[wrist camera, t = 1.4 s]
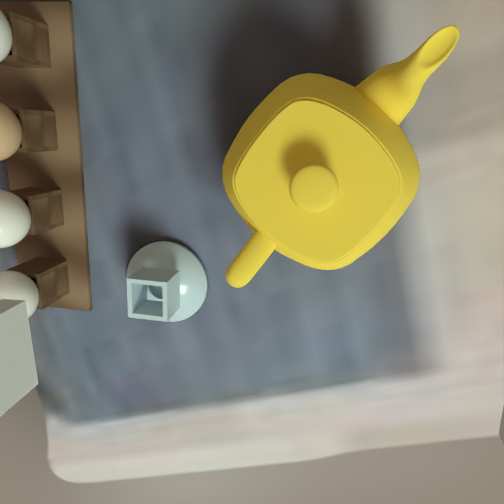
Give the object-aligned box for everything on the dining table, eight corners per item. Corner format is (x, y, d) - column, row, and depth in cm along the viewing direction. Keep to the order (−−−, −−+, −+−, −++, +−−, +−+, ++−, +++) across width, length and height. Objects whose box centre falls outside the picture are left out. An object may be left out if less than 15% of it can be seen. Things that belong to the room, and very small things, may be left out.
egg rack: (-9, 2, 38) (-55, -15, 33) (71, 2, 36) (35, -15, 32) (25, 301, 45) (-9, 320, 41) (92, 309, 44) (65, 329, 40)
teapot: (478, 117, 33) (558, 110, 22) (308, 295, 40) (297, 365, 28) (346, 2, 33) (354, -70, 21) (195, 201, 39) (136, 231, 27)
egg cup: (127, 237, 41) (101, 251, 37) (208, 244, 40) (192, 259, 35) (130, 314, 44) (106, 336, 39) (207, 323, 42) (191, 347, 38)
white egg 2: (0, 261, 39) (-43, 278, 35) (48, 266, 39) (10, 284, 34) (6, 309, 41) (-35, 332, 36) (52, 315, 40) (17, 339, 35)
